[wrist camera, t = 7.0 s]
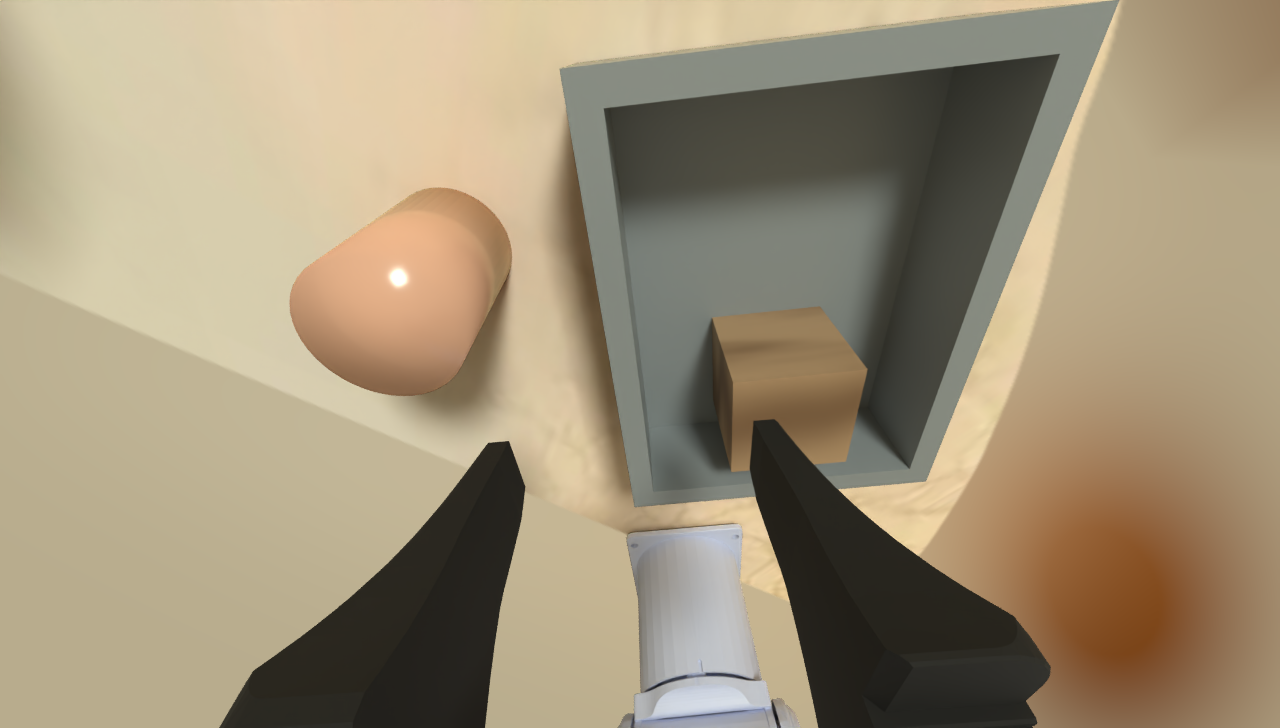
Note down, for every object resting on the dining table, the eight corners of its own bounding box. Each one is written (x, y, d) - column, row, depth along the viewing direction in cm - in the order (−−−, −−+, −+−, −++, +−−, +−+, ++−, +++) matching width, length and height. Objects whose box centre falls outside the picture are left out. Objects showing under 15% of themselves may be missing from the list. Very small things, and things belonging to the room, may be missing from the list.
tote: (877, 411, 26) (925, 481, 21) (632, 435, 26) (634, 507, 22) (985, 12, 15) (1119, -1, 11) (576, 63, 16) (559, 69, 12)
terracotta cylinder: (524, 294, 21) (486, 388, 15) (418, 305, 21) (341, 402, 15) (492, 180, 18) (431, 243, 12) (370, 195, 18) (252, 263, 12)
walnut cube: (807, 390, 24) (846, 461, 20) (712, 399, 24) (731, 472, 20) (819, 306, 21) (867, 369, 17) (711, 317, 21) (733, 382, 17)
